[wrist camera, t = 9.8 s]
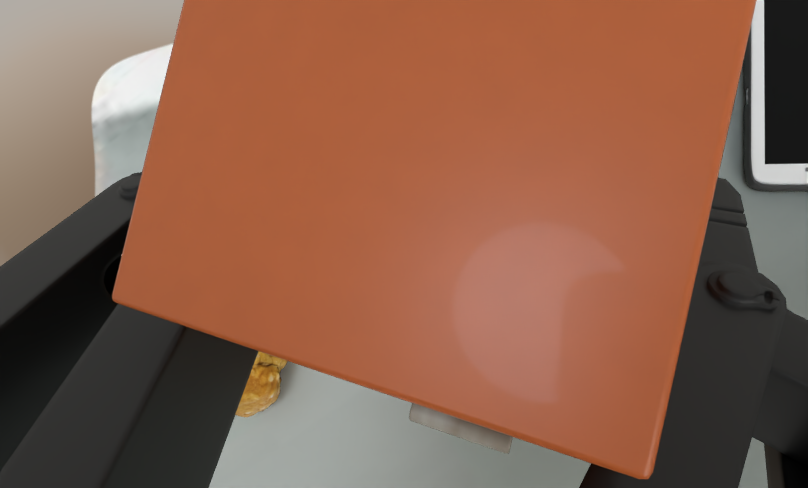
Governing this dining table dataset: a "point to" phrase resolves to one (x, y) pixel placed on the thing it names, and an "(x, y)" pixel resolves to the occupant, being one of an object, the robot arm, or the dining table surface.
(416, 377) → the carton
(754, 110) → the cell phone
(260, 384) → the bagel
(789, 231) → the dining table surface
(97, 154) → the dining table surface
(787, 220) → the dining table surface
